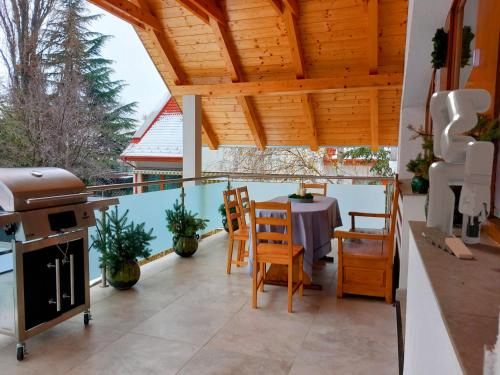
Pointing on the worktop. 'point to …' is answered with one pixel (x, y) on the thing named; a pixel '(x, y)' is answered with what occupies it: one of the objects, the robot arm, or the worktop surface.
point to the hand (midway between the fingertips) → (472, 236)
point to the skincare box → (464, 237)
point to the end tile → (458, 248)
